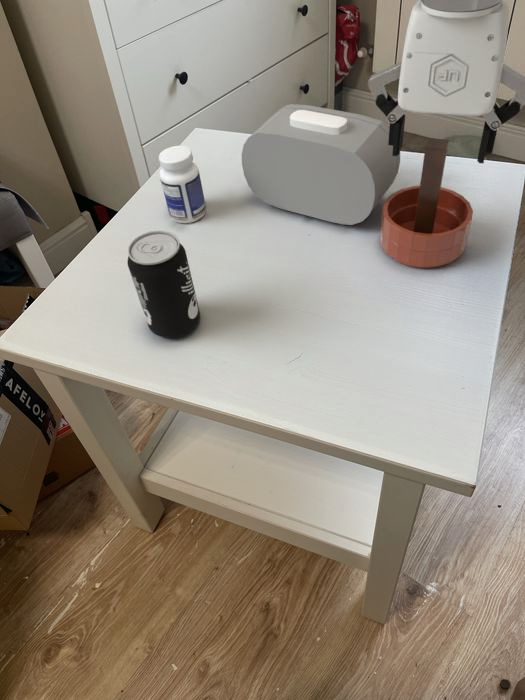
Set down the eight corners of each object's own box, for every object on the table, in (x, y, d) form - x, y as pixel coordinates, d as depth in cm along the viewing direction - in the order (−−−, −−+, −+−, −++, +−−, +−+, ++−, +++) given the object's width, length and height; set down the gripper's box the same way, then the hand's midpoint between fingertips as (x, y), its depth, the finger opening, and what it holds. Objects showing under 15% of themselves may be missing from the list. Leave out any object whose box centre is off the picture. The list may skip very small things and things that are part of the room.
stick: (432, 235, 77) (449, 139, 67) (429, 246, 76) (446, 149, 65) (414, 233, 78) (428, 137, 67) (411, 244, 76) (425, 147, 66)
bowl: (468, 224, 79) (476, 190, 75) (459, 276, 72) (468, 241, 68) (388, 214, 82) (391, 181, 78) (372, 263, 75) (375, 229, 71)
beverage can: (189, 346, 68) (168, 269, 59) (140, 336, 70) (113, 261, 61) (208, 308, 72) (192, 231, 63) (162, 300, 74) (139, 224, 65)
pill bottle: (201, 199, 89) (190, 139, 81) (211, 218, 85) (199, 158, 78) (166, 208, 88) (151, 149, 80) (174, 228, 84) (159, 168, 77)
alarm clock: (397, 201, 84) (406, 113, 74) (371, 237, 79) (378, 147, 69) (276, 172, 92) (271, 89, 82) (246, 203, 87) (236, 119, 77)
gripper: (365, 1, 54) (359, 163, 67) (561, 2, 49) (515, 177, 62) (380, -23, 59) (372, 133, 72) (561, -25, 54) (518, 144, 67)
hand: (438, 153), depth 67 cm, fingers open, 9 cm apart
